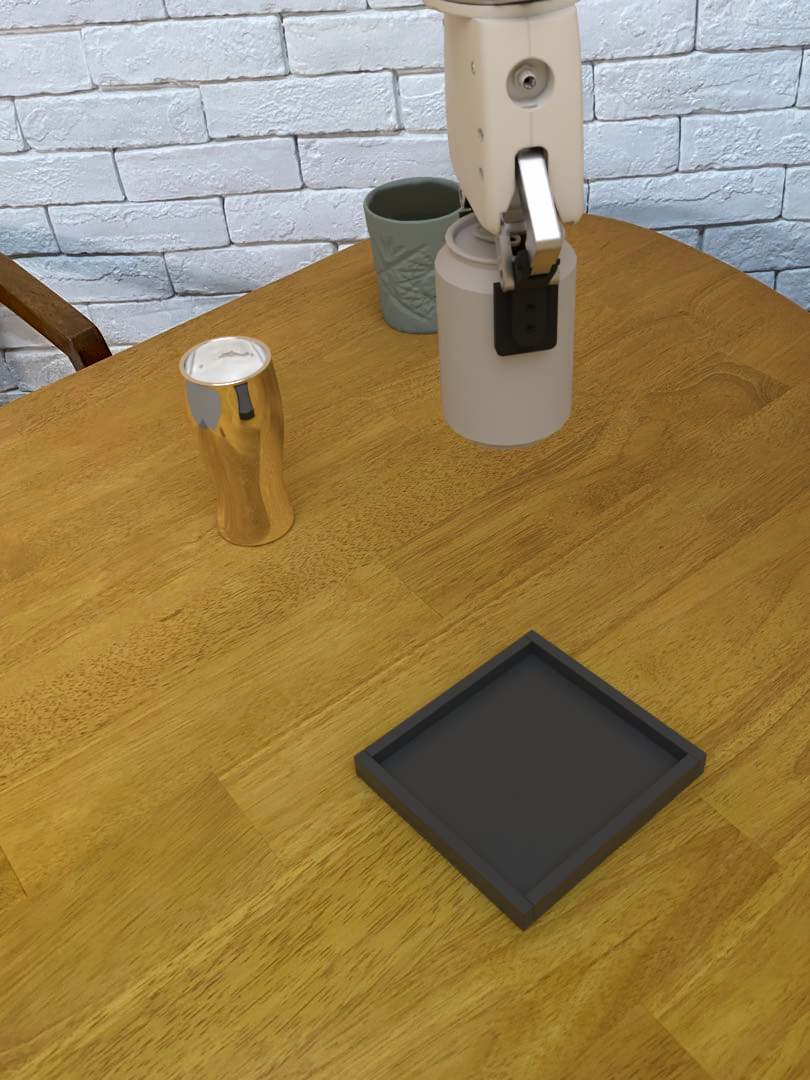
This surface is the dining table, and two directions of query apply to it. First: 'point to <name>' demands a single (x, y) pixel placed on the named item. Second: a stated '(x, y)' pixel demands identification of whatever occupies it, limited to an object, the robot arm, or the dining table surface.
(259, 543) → the beer glass
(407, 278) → the embossed green cup
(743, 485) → the dining table surface
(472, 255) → the can
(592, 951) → the dining table surface
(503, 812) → the tray
